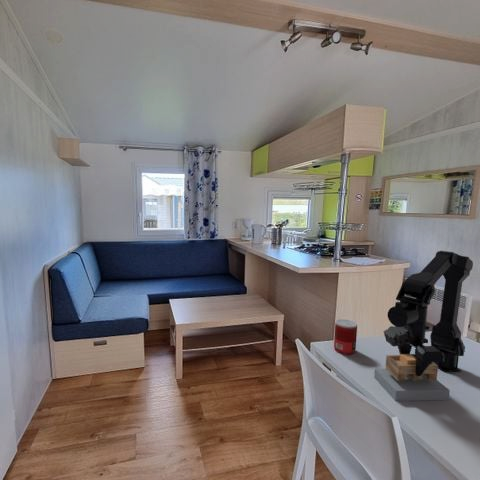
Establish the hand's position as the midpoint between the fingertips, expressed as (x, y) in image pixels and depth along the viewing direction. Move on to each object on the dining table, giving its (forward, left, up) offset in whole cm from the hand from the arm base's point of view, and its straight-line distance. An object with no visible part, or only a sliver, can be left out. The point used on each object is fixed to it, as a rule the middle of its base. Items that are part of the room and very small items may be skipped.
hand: (410, 369), depth 91 cm
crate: (0, 0, +2) cm, 2 cm away
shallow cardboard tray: (0, 0, -2) cm, 2 cm away
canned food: (+10, -25, -6) cm, 28 cm away
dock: (0, 0, -6) cm, 6 cm away
